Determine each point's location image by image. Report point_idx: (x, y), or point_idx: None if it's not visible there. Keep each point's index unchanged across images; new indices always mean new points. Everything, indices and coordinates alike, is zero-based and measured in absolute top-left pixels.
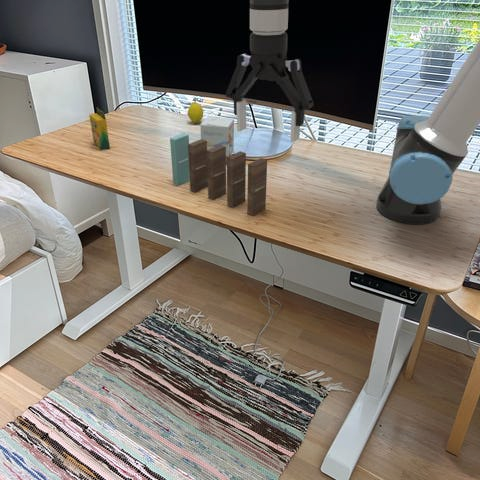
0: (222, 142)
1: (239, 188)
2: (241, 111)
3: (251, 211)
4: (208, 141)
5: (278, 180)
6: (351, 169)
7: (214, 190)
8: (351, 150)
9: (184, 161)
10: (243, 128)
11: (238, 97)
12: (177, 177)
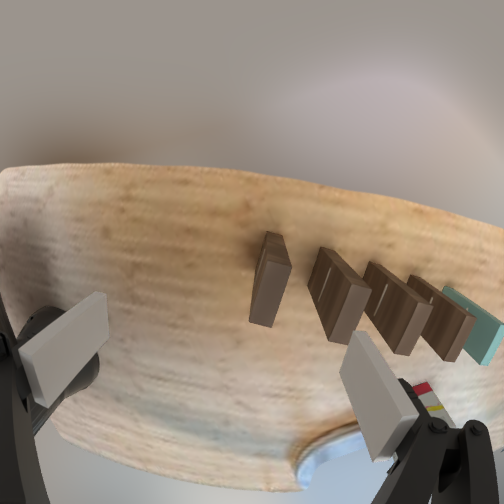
0: None
1: (320, 279)
2: (375, 397)
3: (271, 233)
4: (431, 411)
5: (275, 385)
6: (178, 442)
7: (375, 271)
8: (206, 482)
9: None
10: (346, 357)
11: (418, 440)
12: (453, 291)
